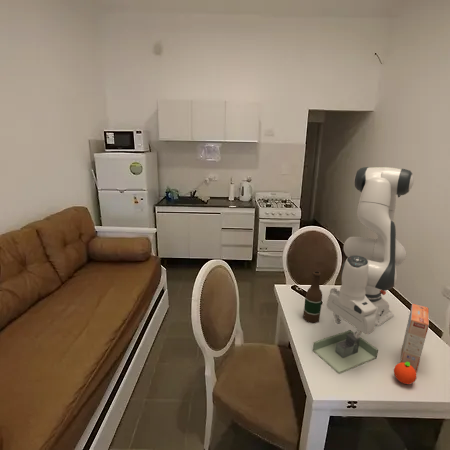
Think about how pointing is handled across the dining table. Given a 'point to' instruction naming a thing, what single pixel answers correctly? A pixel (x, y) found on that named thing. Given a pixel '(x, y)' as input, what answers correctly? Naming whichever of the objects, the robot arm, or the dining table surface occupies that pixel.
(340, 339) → the tray
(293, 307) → the dining table surface
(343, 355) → the bracket
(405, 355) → the cracker box
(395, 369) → the clementine
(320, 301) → the beer bottle
